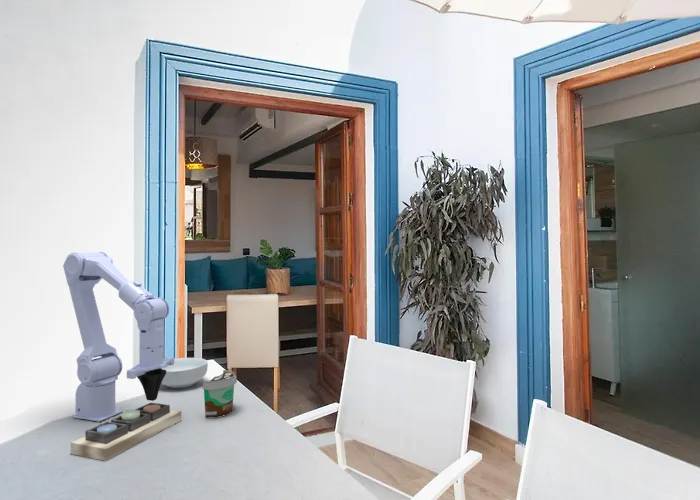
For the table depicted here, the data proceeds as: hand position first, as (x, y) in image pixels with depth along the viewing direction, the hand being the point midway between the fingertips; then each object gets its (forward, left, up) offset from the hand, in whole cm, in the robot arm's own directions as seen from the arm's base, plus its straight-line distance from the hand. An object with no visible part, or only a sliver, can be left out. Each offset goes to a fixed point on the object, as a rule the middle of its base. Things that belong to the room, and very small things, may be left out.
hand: (151, 399), depth 119 cm
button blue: (0, -14, -4) cm, 14 cm away
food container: (+12, +14, -7) cm, 20 cm away
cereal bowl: (-16, +31, -7) cm, 36 cm away
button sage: (0, -7, -3) cm, 8 cm away
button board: (0, -7, -7) cm, 10 cm away
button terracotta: (0, 0, -4) cm, 4 cm away
